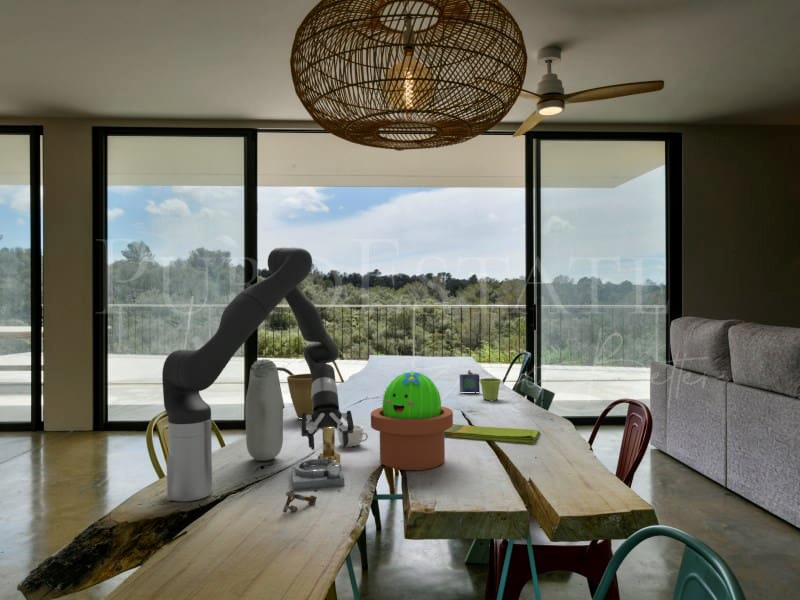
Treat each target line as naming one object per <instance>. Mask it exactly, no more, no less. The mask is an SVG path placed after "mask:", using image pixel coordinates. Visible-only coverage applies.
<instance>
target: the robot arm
mask: <svg viewBox="0 0 800 600" xmlns="http://www.w3.org/2000/svg"><path fill="white" fill-rule="evenodd" d="M267 257H268V258H267V269H268V271H269V274H270V276H268V277H266V278H264V279H262V280H260V281H258V282H256V283H253V284H252V285H250V286H248V287H246V288H244V289H243V290H242V291H241V292H239V293H238V294H237V295H236V296H235V297H234V298H233V299H232V300H231V301H230V302H229V303H228V304H227V306H226V307H225V308H224V310H223V312H222V314H221V317H220V321H219V325H218V329H217V331H216V332H215V333H214V335H213V336H212V337H211V338H210V339H208V341H207V342H206V343H204V344H203V345H202V346H201V347H200V348H199V349H195V350H193V349H177V350H174V351H173V352H171V353H170V354H169V355H168V356H166V359H165V360H164V363H163V365H162V366H163V367H162V372H161V373H162V374H161V375H162V376H161V379H162V394H163V407H164V411H165V412H166V415H167V419H168V420H167V421H168V422H167V423H168V424H167V427H168V431H167V432H168V433H167V435H168V456H167V457H166V492H167V493H166V500H167V501H169V502H170V501H173V502H175V501H176V502H192V501H196V500H201V499H204V498H206V497H208V496H210V495H211V494H212V493H213V464H212V463H213V460H212V459H213V457H212V456H213V453H212V452H213V451H212V447H213V446H212V445H213V444H212V409H211V406H210V405H209V404H208V403H207V402H205V400H204V398H202V396H201V395H200V392H201V391H204V390H207V389H208V388H210V387H211V386H212V385H213V384H214V383H215V382H216V380H217V379H218V378H219V376H220V375H221V374H222V372H223V371H224V369H225V368H226V367H227V365H228V364H229V362H230V361H231V359H232V358H233V356H234V355H235V354H236V353H237V352H238V350H239V349H240V348H241V347H242V346H243V344H244V343H245V342H246V341H247V340H248V339H249V337H250V336H251V335H252V334H253V333H254V332H255V331H256V330H257V329H258V328H259V327H260V325H262V324H263V322H264V321H265V320H266V319H267V318H268V316H269V315H270V314H271V312H272V311H274V309H275V308H276V307H277V306H278V305H279V304H280V303H281V302H282V301H283V300H284V299H285V301H286V302H287V304H288V306H289V307H290V309H291V311H292V313H293V316H294V319H295V320H296V324H297V326H298V329H299V331H300V334H301V337H302V338H303V340H304V341H306V342H311V343H309V344H308V345H306V346H305V348H304V350H303V357H304V360H305V362H306V364H307V366H308V368H309V369H308V370H309V374H311V382H312V389H311V395H312V396H311V398H312V410H313V413H312V415H306V413H303V414H302V420H301V427H300V428H301V433H300V435H301V437H307V438H308V439H307V440H308V448H310V449H311V450H312V451H314V450H315V436H314V435H315V434H316V433H318V431H319V430H322V431H323V427H324V426H334V427H335V431H337V432H338V431H339V432H340V433H341V434H342V440H343V445H342V447H343V448H344V449H345V448H347V447H346V445H348V441H349V440H348V434H349V433H353V429H354V425H355V424H354V420H353V414H352V411H351V410H347V411H346V412H341V411H340V404H339V403H340V402H339V394H338V393H339V392H338V387H337V384H336V383H337V381H336V374H335V368H334V367H333V366H332V365H331V364H330V363H333V362H335V361H337V360H338V358H339V348H338V346H337V344H336V342H335V341H334V339H333V338H332V337H331V336H330V335H329V333H328V332H327V330H326V328H325V325H324V323H323V320H322V318H321V315H320V312H319V310H318V309H317V307H316V305H315V304H314V303H313V302H312V301H311V300H310V299H309V297H308V296H306V294H305V293H304V292H303V291H302V290H301V288H300V286H299V285H300V284H302V282H304V280H305V279H306V278H307V277H308V276H309V274H310V272H311V271H312V266H313V258H312V255H311V252H309V251H308V250H306V249H305V248H300V247H275V248H274V249H272V250H271V251H270V252H269V254H268V256H267ZM312 342H313V343H312ZM342 419H343V420H344V421H345V422H346V424H344V423H343V421H342ZM310 420H311V421H312V423H313V424H312V426H311V427H310V428H309V429H307V424H309V423H310ZM345 425H348V427H346V426H345Z"/></svg>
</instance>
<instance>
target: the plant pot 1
mask: <svg viewBox="0 0 800 600" xmlns="http://www.w3.org/2000/svg"><path fill="white" fill-rule="evenodd" d="M286 379H287V380H286V381H287V385H288V390H289V394H290V395H289V396H290V398H291V402H292V405H293V408H294V411H295V413H296V416H297V418H298V417H299V418H302V414H303V413H306V415H312V413H313V410H312V398H311V396H312V395H311V389H312V382H311V373H300V374H299V373H298V374H293V375H288V376H287V377H286Z"/></svg>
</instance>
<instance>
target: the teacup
mask: <svg viewBox="0 0 800 600" xmlns="http://www.w3.org/2000/svg"><path fill="white" fill-rule="evenodd" d="M344 425H345V426H346V427H348V424H344ZM353 425H354V429H353V433H349V434H348V440H349V441H348V445H346V447H345V448H353V447H352V446H355V447H357V445H358V446H359V445H360V444H361V443H363V442H365V441H367V440H368V438H369V436H368V433H367V432H365V431H364V426H363V425H359V424H353ZM364 435H365V439H363V438H364ZM337 438H338V439H337V440H338V442H339V443H340V445H341V446H343V440H342V434H341V433H340V432H339V431H337Z"/></svg>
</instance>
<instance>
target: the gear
mask: <svg viewBox="0 0 800 600" xmlns="http://www.w3.org/2000/svg"><path fill="white" fill-rule="evenodd" d="M335 431H336V429H335V427H334V426H324V427H323V430H322V452H321V453H319V454H318V455H317V459H330V460H337V463H340V464H341V453H338V452H337V451H336V446H335V445H336V442H335V441H336V440H335V438H336V436H335V433H336V432H335Z"/></svg>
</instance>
